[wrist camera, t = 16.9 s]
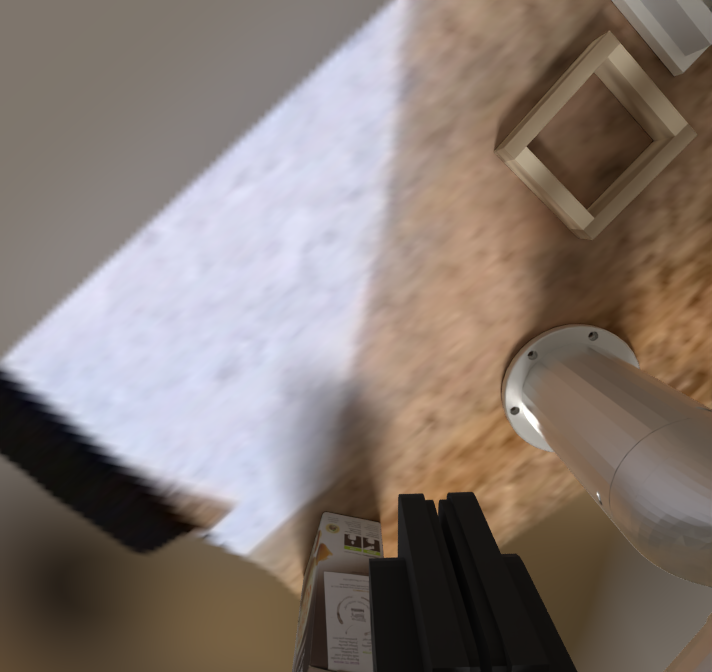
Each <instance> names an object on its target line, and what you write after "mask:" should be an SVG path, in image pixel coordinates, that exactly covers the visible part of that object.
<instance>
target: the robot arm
mask: <svg viewBox="0 0 712 672" xmlns="http://www.w3.org/2000/svg"><path fill="white" fill-rule="evenodd" d="M590 333H591V334H590ZM589 334H590V335H589ZM529 352H531V354H529ZM528 354H529V355H528ZM501 396H502V406H503V409H504V412H505V415H506V418H507V419H508V421H509V423H510V425H511V426H512V428H513V429H514V430H515V431H516V433H517V434H518V435H519V436H520V437H521V438H522V439H524V440H525V441H526V442H527V443H529V444H531V445H533V446H534V447H536V448H539V449H542V450H545V451H548V452H555V453H556V454H557V456H558V457H559V458H560V459H561V460H562V462H563V463H564V464H565V465H566V466H567V468H568V469H569V470H570V471H571V472H572V474H573V475H574V476H575V477H576V478H577V480H578V481H579V482H580V483H581V484H582V486H583V487H584V488H585V489H586V490H587V492H588V493H589V494H590V495H591V496H592V497H593V499H594V500H595V501H596V502H597V504H598V505H599V506H600V507H601V508H602V509H603V510H604V512H605V513H606V514H607V515H608V517H609V518H610V519H611V520H612V521H613V523H614V524H615V525H616V526H617V527H618V528H619V530H620V531H621V532H622V533H623V535H624V536H625V537H626V538H627V539H628V541H629V542H630V543H631V544H632V545H633V546H634V547H635V548H636V549H637V550H638V551H639V552H640V553H641V554H642V555H643V556H644V557H645V558H647V559H648V560H649V561H650V562H652V563H653V564H654V565H656V566H658V567H659V568H661V569H663V570H665V571H666V572H668V573H670V574H672V575H674V576H676V577H679V578H682V579H684V580H687V581H690V582H692V583H696V584H699V585H703V586H708V587H711V588H712V409H710V408H708V407H706V406H704V405H703V404H701V403H699V402H697V401H696V400H694V399H692V398H690V397H689V396H687V395H685V394H683V393H681V392H680V391H678V390H676V389H674V388H673V387H671V386H669V385H667V384H665V383H664V382H662V381H660V380H658V379H657V378H655V377H653V376H651V375H649V374H648V373H646V372H644V371H642V370H641V369H640V367H639V363H638V361H637V359H636V356H635V354H634V352H633V351H632V350H631V348H630V347H629V346H628V345H627V344H626V342H624V341H623V340H622V339H620V338H619V337H618V336H617V335H615V334H613V333H611V332H609V331H607V330H605V329H602V328H599V327H596V326H593V325H586V324H568V325H564V326H559V327H555V328H553V329H550V330H548V331H545V332H543V333H541V334H540V335H538V336H536V337H535V338H533V339H532V340H530V341H529V342H528V343H527V344H526V345H525V346H524V347H522V348H521V349H520V351H519V352H518V353H517V354H516V356H515V357H514V358H513V359H512V361H511V363H510V365H509V367H508V369H507V371H506V374H505V377H504V380H503V384H502V394H501ZM512 407H513V408H512ZM511 408H512V409H511ZM369 603H370V626H371V644H372V661H373V672H577V670H576V668H575V666H574V664H573V662H572V660H571V658H570V656H569V654H568V652H567V650H566V648H565V646H564V644H563V642H562V640H561V638H560V636H559V634H558V632H557V630H556V628H555V626H554V624H553V622H552V620H551V618H550V616H549V614H548V612H547V609H546V607H545V605H544V603H543V602H542V599H541V598H540V595H539V593H538V591H537V589H536V587H535V585H534V584H533V581H532V579H531V577H530V575H529V573H528V571H527V569H526V567H525V565H524V563H523V561H522V560H521V558H520V557H519V556H518V555H517V554H501V553H500V551H499V548H498V546H497V544H496V542H495V539H494V537H493V535H492V533H491V530H490V528H489V526H488V524H487V521H486V519H485V517H484V515H483V512H482V510H481V508H480V506H479V503H478V501H477V499H476V497H475V495H474V493H473V492H456V493H448V494H447V499H446V500H439V507H438V515H437V511H436V508H435V504H434V501H433V500H425V498H424V495H423V494H399V497H398V558H369ZM663 672H712V613H711V614H710V615H709V616H708V618H707V620H706V624H705V625H704V626H703V627H702V628H701V629H700V630H699V632H698V633H697V634H696V635H695V636H694V638H692V639H691V641H690V642H689V643H688V644H687V645H686V647H684V649H683V650H682V651H681V652H680V653H679V654H678V655H677V656H676V658H675V659H674V660H673V661H672V662H671V663H670V664H669V666H668V667H667V668H666V669H665V670H664V671H663Z"/></svg>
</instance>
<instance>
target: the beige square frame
mask: <svg viewBox="0 0 712 672" xmlns="http://www.w3.org/2000/svg"><path fill="white" fill-rule="evenodd" d="M593 73H595V74H596V75H597V76H598V77H599V78H600V80H601V81H602V82H603V83H604V84H605V85H606V86H607V88H608V89H609V90H610V91H611V92H612V93H613V95H614V96H615V97H616V98H617V99H618V100H619V101H620V103H621V104H622V105H623V106H624V107H625V108H626V109H627V111H628V112H629V113H630V114H631V115H632V116H633V118H634V119H635V120H636V121H637V122H638V123H639V124H640V126H641V127H642V128H643V129H644V130H645V131H646V132H647V134H648V135H649V136H650V137H651V138H652V139H653V142H652V143H651V144H650V145H649V146H648V147H647V148H646V149H645V150H644V151H643V152H642V154H641V155H640V156H639V157H638V158H637V159H636V160H635V161H634V162H633V163H632V164H631V165H630V166H629V167H628V168H627V169H626V170H625V171H624V172H623V173H622V174H621V175H620V176H619V177H618V178H617V179H616V180H615V181H614V182H613V183H612V184H611V185H610V186H609V187H608V188H607V189H606V190H605V191H604V192H603V194H602V195H601V196H600V197H599V198H598V199H597V200H596V201H595V202H594V203H593V204H592V205H591V206H590V207H589V208H588V209H587V210H586V209H585V208H584V207H583V206H582V205H581V204H580V202H579V201H578V200H577V199H576V198H575V197H574V196H573V195H572V194H571V193H570V192H569V191H568V190H567V189H566V188H565V187H564V186H563V185H562V184H561V183H560V181H559V180H558V179H557V178H556V177H555V176H554V175H553V174H552V173H551V172H550V171H549V170H548V169H547V168H546V167H545V166H544V165H543V164H542V163H541V161H540V160H539V159H538V158H537V157H536V156H535V155H534V154H533V153H532V152H531V151H530V150H529V149H528V148H527V147H526V146H527V145H528V144H529V143H530V142H531V141H532V140H533V139H534V138H535V136H536V135H537V134H538V133H539V132H540V131H541V130H542V129H543V128H544V127H545V125H546V124H547V123H548V122H549V121H550V120H551V119H552V118H553V117H554V116H555V114H556V113H557V112H558V111H559V110H560V109H561V108H562V107H563V106H564V104H565V103H566V102H567V101H568V100H569V99H570V98H571V97H572V96H573V95H574V93H575V92H576V91H577V90H578V89H579V88H580V87H581V86H582V85H583V84H584V82H585V81H586V80H587V79H588V78H589V77H590V76H591V75H592V74H593ZM696 136H697V134H696V132H695V131H694V130H693V129H692V128H691V126H690V125H689V124H688V123H687V122H686V120H685V119H684V118H683V117H682V116H681V114H680V113H679V112H678V111H677V110H676V109H675V107H674V106H673V105H672V104H671V103H670V101H669V100H668V99H667V98H666V97H665V95H664V94H663V93H662V92H661V91H660V89H659V88H658V87H657V86H656V85H655V84H654V82H653V81H652V80H651V79H650V78H649V76H648V75H647V74H646V73H645V72H644V70H643V69H642V68H641V67H640V66H639V65H638V63H637V62H636V61H635V60H634V59H633V57H632V56H631V55H630V54H629V53H628V51H627V50H626V49H625V48H624V47H623V45H622V44H621V43H620V42H619V41H618V40H617V38H616V37H615V36H614V35H613V34H612V32H611V31H610V30H609V31H608V32H606V33H605V34H603V35H602V36H600V37H599V38H597V39H596V40H594V41H593V42H591V43H590V45H589V46H588V47H587V48H586V49H585V50H584V51H583V52H582V54H581V55H580V56H579V57H578V58H577V59H576V60H575V61H574V62H573V64H572V65H571V66H570V67H569V68H568V69H567V70H566V71H565V73H564V74H563V75H562V76H561V77H560V78H559V79H558V80H557V82H556V83H555V84H554V85H553V86H552V87H551V88H550V89H549V90H548V92H547V93H546V94H545V95H544V96H543V97H542V98H541V99H540V101H539V102H538V103H537V104H536V105H535V106H534V107H533V108H532V110H531V111H530V112H529V113H528V114H527V115H526V116H525V117H524V118H523V120H522V121H521V122H520V123H519V124H518V125H517V126H516V127H515V129H514V130H513V131H512V132H511V133H510V134H509V135H508V136H507V137H506V139H505V140H504V141H503V142H502V143H501V144H500V145H499V146H498V148H497V149H496V150H495V151H494V153H495V154H496V155H497V156H498V157H499V158H500V159H501V160H502V161H503V162H504V163H505V164H506V165H507V166H508V167H509V168H510V169H511V170H512V171H513V172H514V173H515V174H516V175H517V176H518V177H519V178H520V179H521V180H522V181H523V182H524V183H525V184H526V185H527V186H528V187H529V188H530V190H531V191H532V192H533V193H534V194H535V195H536V196H537V197H538V198H539V199H540V200H541V201H542V202H543V203H544V204H545V205H546V206H547V207H548V208H549V209H550V210H551V211H552V212H553V213H554V214H555V215H556V216H557V217H558V218H559V219H560V220H561V221H562V222H563V223H564V224H565V225H566V226H567V227H568V229H569V230H570V231H571V232H572V233H573V234H574V235H575V236H576V237H577V238H582V239H589V240H593V239H594V238H595V237H596V236H597V235H598V234H599V233H600V232H601V231H602V230H603V229H604V228H605V227H606V226H607V225H608V224H609V223H610V222H611V221H612V220H613V219H614V218H615V217H616V216H617V215H618V214H619V213H620V212H621V211H622V210H623V209H624V208H625V207H626V206H627V205H628V204H629V203H630V202H631V201H632V200H633V199H634V198H635V197H636V196H637V195H638V194H639V193H640V192H641V191H642V190H643V189H644V188H645V187H646V186H647V185H648V184H649V183H650V182H651V181H652V180H653V179H654V178H655V177H656V176H657V175H658V174H659V173H660V172H661V171H662V170H663V169H664V168H665V167H666V166H667V165H668V164H669V163H670V162H671V161H672V160H673V159H674V158H675V157H676V156H677V155H678V154H679V153H680V152H681V151H682V150H683V149H684V148H685V147H686V146H687V145H688V144H689V143H690V142H691V141H692V140H693V139H694V138H695V137H696Z"/></svg>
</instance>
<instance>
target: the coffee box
mask: <svg viewBox="0 0 712 672" xmlns="http://www.w3.org/2000/svg"><path fill="white" fill-rule="evenodd" d="M369 558H384V556H383V545H382V535H381V524H380V523H378V522H374V521H369V520H364V519H359V518H354V517H349V516H344V515H339V514H334V513H329V512H325V513H323V515H322V518H321V521H320V525H319V528H318V531H317V535H316V538H315V542H314V545H313V548H312V552H311V555H310V558H309V562H308V565H307V569H306V572H305V575H304V579H303V587H302V594H301V602H300V611H299V620H298V628H297V637H296V645H295V653H294V662H293V669H292V672H373V661H372V644H371V626H370V603H369Z"/></svg>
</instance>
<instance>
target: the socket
mask: <svg viewBox="0 0 712 672" xmlns="http://www.w3.org/2000/svg"><path fill="white" fill-rule="evenodd" d="M612 2H613V3H614V4H615V5H616V7H617V8H618V9H619V10H620V11H621V13H622V14H623V15H624V16H625V17H626V19H627V20H628V21H629V22H630V23H631V25H632V26H633V27H634V28H635V30H636V31H637V32H638V33H639V34H640V36H641V37H642V38H643V39H644V40H645V42H646V43H647V44H648V45H649V47H650V48H651V49H652V50H653V51H654V53H655V54H656V55H657V56H658V57H659V59H660V60H661V61H662V62H663V63H664V65H665V66H666V67H667V68H668V70H669V71H670V72H671V73H672V74H673V76H674V77H675V76H677V75H680V74H682V73H684V72H685V71H686V70H687V69H688V68H689V67H690V66H691V65H692V64H693V63H694V61H695V60H696V59H697V58H698V57H699V56H700V55H701V54H702V53H703V52H704V51H705V50H706V49H707V48H708V47H709V46H710V45H712V0H612Z"/></svg>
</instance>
